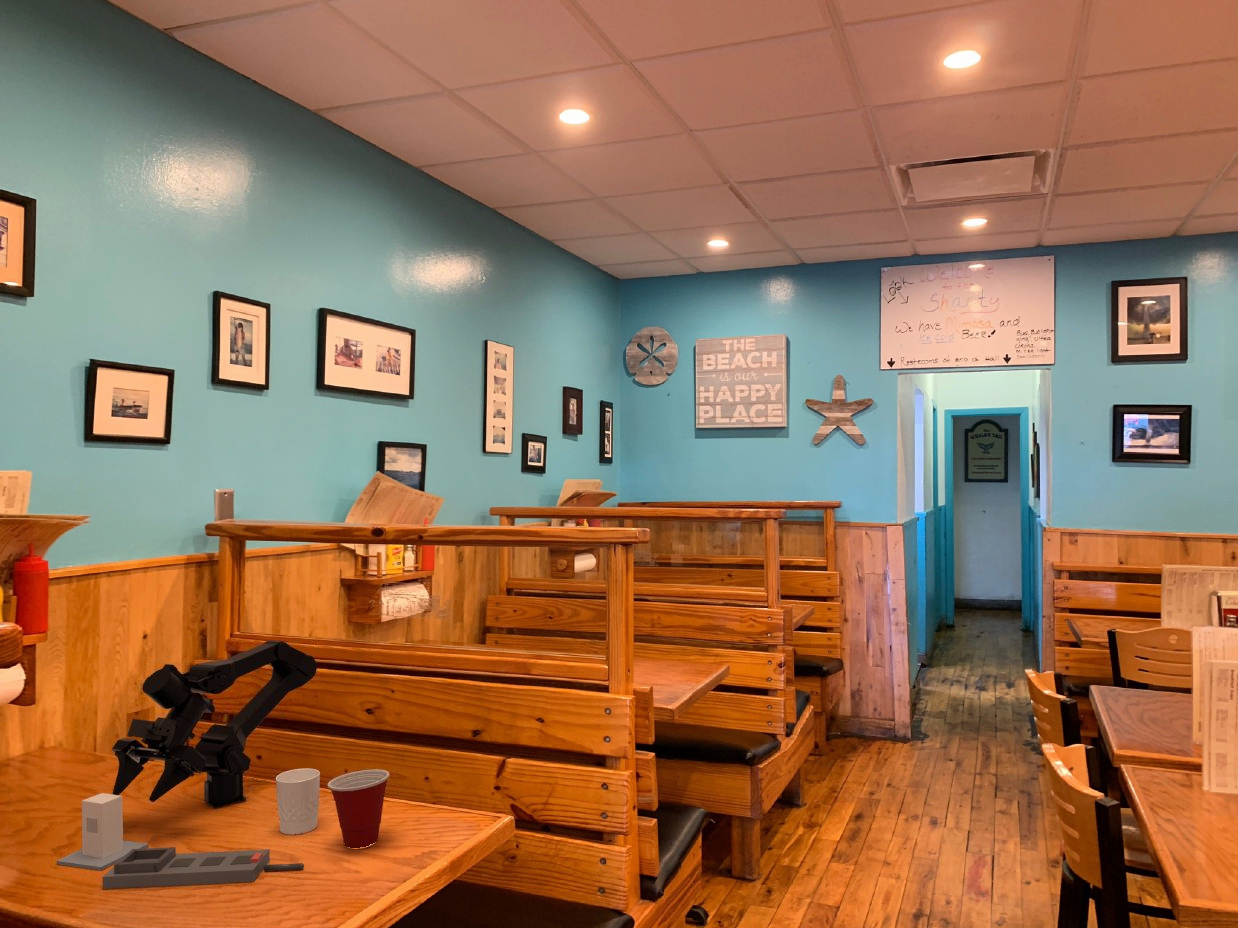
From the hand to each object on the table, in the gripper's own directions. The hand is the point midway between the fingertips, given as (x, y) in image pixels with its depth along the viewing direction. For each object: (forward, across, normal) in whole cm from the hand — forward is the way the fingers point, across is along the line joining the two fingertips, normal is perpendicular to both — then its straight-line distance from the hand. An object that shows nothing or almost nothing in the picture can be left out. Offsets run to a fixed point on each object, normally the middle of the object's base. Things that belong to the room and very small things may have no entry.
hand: (132, 798), depth 164 cm
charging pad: (+10, 0, +1) cm, 10 cm away
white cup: (-5, +25, +17) cm, 30 cm away
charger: (+10, 0, +1) cm, 10 cm away
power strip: (+10, +24, +2) cm, 26 cm away
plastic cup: (-3, +40, +15) cm, 43 cm away
